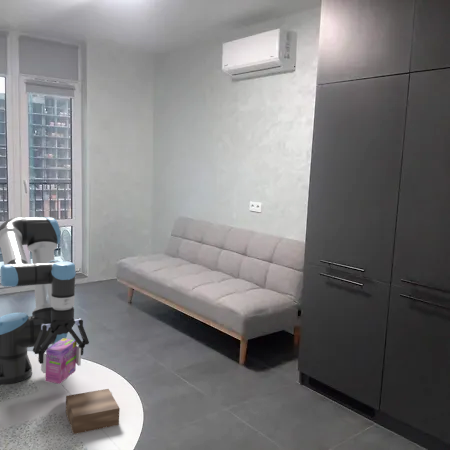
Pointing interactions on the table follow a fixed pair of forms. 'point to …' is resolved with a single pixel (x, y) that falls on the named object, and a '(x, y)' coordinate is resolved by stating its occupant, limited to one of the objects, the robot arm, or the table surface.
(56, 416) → the table surface
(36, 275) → the robot arm
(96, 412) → the walnut block
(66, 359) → the box
